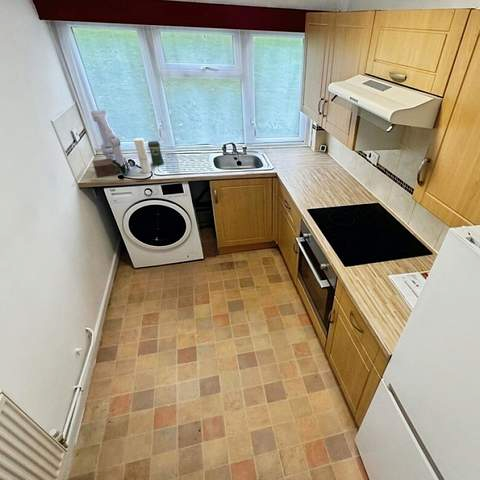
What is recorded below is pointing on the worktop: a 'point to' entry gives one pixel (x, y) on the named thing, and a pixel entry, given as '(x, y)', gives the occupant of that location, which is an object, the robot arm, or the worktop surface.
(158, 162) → the coffee jar
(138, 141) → the cylindrical container
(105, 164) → the cabinet
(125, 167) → the scoop
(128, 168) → the drawer
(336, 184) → the worktop surface
